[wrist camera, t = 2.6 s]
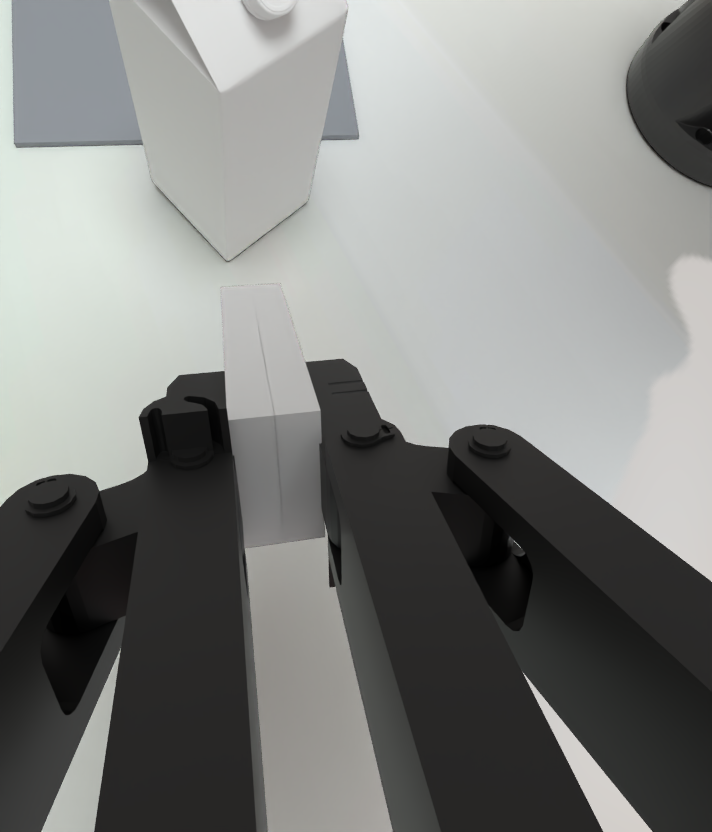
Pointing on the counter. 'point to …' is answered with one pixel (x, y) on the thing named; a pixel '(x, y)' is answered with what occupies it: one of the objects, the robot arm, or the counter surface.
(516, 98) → the counter surface
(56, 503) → the robot arm
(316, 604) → the counter surface
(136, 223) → the counter surface
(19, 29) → the mat
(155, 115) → the milk carton
